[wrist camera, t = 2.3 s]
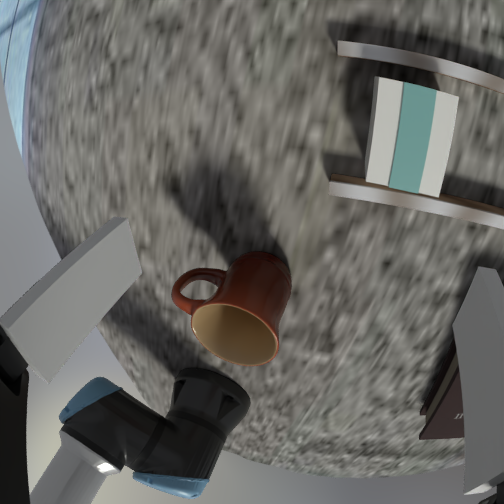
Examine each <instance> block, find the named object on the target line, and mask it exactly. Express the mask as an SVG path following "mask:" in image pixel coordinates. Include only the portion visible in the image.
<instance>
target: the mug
mask: <svg viewBox="0 0 504 504" xmlns="http://www.w3.org/2000/svg"><path fill="white" fill-rule="evenodd" d="M196 280H205V281H209V282H211V283H213V284H215V285H216V286H217V287H218V289H217V290H216V292H215V293H214V294H213V295H212V296H211V297H210V298H209V299H207V300H193V299H189V298H187V297H185V296H183V295H182V294H181V293H180V292H181V291H182V290H183V289H184V288H185V287H186V286H187V285H188V284H189V283H191V282H193V281H196ZM291 282H292V280H291V274H290V272H289V269H288V268H287V266H286V265H285V264H284V263H283V262H282V261H281V260H280V259H279V258H277V257H276V256H274V255H272V254H269V253H266V252H260V251H253V252H248V253H246V254H243V255H241V256H240V257H239V258H237V259H236V260H235V261H234V262H233V263H232V264H231V266H230V267H229V269H228V270H227V271H224V270H220V269H213V268H196V269H193V270H190V271H188V272H186V273H184V274H183V275H182V276H180V277H179V278H178V280H177V281H176V282H175V284H174V286H173V288H172V293H171V296H172V300H173V302H174V303H175V305H176V306H177V307H179V308H180V309H182V310H183V311H185V312H186V313H188V314H189V315H191V316H192V317H191V328H192V330H193V332H194V334H195V336H196V337H197V339H198V340H199V342H200V343H201V344H202V345H203V346H204V347H205V348H206V349H207V350H209V351H210V352H211V353H213V354H214V355H216V356H217V357H219V358H221V359H223V360H225V361H228V362H231V363H234V364H238V365H243V366H258V365H262V364H265V363H268V362H269V361H271V360H272V359H273V358H274V357H275V356H276V354H277V352H278V349H279V323H280V320H281V318H282V315H283V313H284V311H285V308H286V305H287V302H288V300H289V298H290V294H291V288H292V283H291Z"/></svg>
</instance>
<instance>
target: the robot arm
mask: <svg viewBox="0 0 504 504" xmlns="http://www.w3.org/2000/svg"><path fill="white" fill-rule="evenodd" d="M141 274H142V269H141V266H140V262H139V259H138V255H137V252H136V248H135V244H134V241H133V237H132V233H131V229H130V225H129V221H128V218H121V217H113V218H112V219H111V220H109V221H108V222H107V223H106V224H104V225H103V226H102V227H101V228H99V229H98V230H97V231H96V232H94V233H93V234H92V235H91V236H89V237H88V238H87V239H86V240H85V241H83V242H82V243H81V244H80V245H79V246H77V247H76V248H75V249H74V250H73V251H72V252H70V253H69V254H68V255H67V256H66V257H65V258H64V259H62V260H61V261H60V262H59V263H58V264H57V265H56V266H54V267H53V268H52V269H51V270H50V271H49V272H48V273H47V274H46V275H45V276H44V277H42V278H41V280H39V281H38V282H36V283H35V284H34V285H33V286H32V287H31V288H30V290H28V291H27V292H26V293H25V294H24V295H23V296H22V297H21V298H20V299H19V300H18V301H17V302H16V303H15V304H14V305H13V306H12V307H11V308H10V309H9V310H8V311H7V312H6V313H5V314H4V315H3V316H2V317H1V318H0V504H91V502H92V501H93V499H94V497H95V495H96V494H97V492H98V490H99V489H100V487H101V485H102V483H103V482H104V480H105V478H106V477H107V476H108V475H111V474H117V473H120V472H121V470H122V468H123V467H124V465H125V466H127V467H129V468H131V469H132V470H134V471H135V472H133V479H135V480H136V481H138V482H140V483H142V484H145V485H147V486H149V487H152V488H155V489H157V490H160V491H163V492H166V493H169V494H172V495H176V496H179V497H183V498H188V499H195V498H197V497H199V496H200V495H201V493H202V491H203V490H204V488H205V486H206V484H207V482H209V478H210V476H211V474H212V471H213V469H214V467H215V464H216V462H217V460H218V457H219V455H220V453H221V450H222V448H223V445H224V443H225V441H226V438H227V436H228V435H229V434H230V432H231V431H232V430H233V429H234V428H235V427H236V426H237V425H238V424H239V423H240V421H241V420H242V419H243V418H244V417H245V416H246V414H247V412H248V409H249V407H250V399H249V397H248V395H247V394H246V392H245V391H244V390H243V389H242V388H241V387H239V386H238V385H237V384H235V383H234V382H232V381H231V380H229V379H227V378H225V377H223V376H221V375H219V374H216V373H214V372H211V371H207V370H203V369H197V368H188V369H184V370H182V371H181V372H180V373H179V375H178V377H177V378H176V380H175V382H174V387H173V393H172V400H171V406H170V410H169V412H168V414H167V415H166V417H165V418H164V417H163V416H161V415H160V414H158V413H157V412H155V411H153V410H152V409H150V408H149V407H147V406H146V405H144V404H143V403H141V402H140V401H138V400H137V399H135V398H134V397H132V396H131V395H129V394H128V393H127V392H125V391H124V390H123V388H121V387H118V386H117V385H115V384H114V383H112V382H111V381H109V380H108V379H106V378H104V377H97V378H94V379H92V380H91V381H90V382H88V383H87V384H86V385H85V386H84V387H83V388H82V389H81V390H80V391H79V392H78V393H77V394H76V395H75V396H74V397H73V398H72V399H71V400H70V401H69V403H68V404H67V406H66V407H65V408H64V409H63V410H62V412H61V413H60V415H59V419H60V421H61V423H63V424H64V425H63V427H62V428H61V430H60V431H59V433H60V438H61V442H62V446H61V447H60V449H59V450H58V452H57V453H56V455H55V456H54V458H53V459H52V461H51V462H50V464H49V466H48V467H47V469H46V471H45V472H44V474H43V475H42V477H41V478H40V480H39V481H38V483H37V485H36V486H35V488H34V489H33V491H32V492H31V494H30V496H29V486H28V473H27V455H26V453H27V452H26V418H27V396H28V383H29V373H28V371H27V369H26V368H27V367H28V365H29V366H30V367H31V369H32V370H33V371H34V373H35V374H36V375H37V376H38V377H40V378H41V379H43V380H44V381H46V382H47V383H50V382H51V381H52V379H53V378H54V377H55V375H56V374H57V373H58V372H59V370H60V369H61V368H62V367H63V365H64V364H65V363H66V362H67V360H68V359H69V358H70V357H71V355H72V354H73V353H74V352H75V350H76V349H77V348H78V347H79V345H80V344H81V343H82V342H83V341H84V339H85V338H86V337H87V336H88V335H89V333H90V332H91V331H92V330H93V329H94V327H95V326H96V325H97V324H98V323H99V322H100V320H101V319H102V318H103V317H104V316H105V314H106V313H107V312H108V311H109V310H110V309H111V308H112V306H113V305H114V304H115V303H116V302H117V301H118V300H119V298H120V297H121V296H122V295H123V294H124V293H125V292H126V290H127V289H128V288H129V287H130V286H131V285H132V284H133V283H134V281H135V280H136V279H137V278H138V277H139V276H140V275H141ZM452 326H453V332H454V337H455V343H456V349H457V356H458V363H459V371H460V379H461V388H462V399H463V413H464V434H465V472H464V492H463V495H466V494H475V493H483V492H486V491H488V490H490V489H491V488H493V487H495V486H497V493H496V494H494V495H492V496H490V497H488V498H486V499H484V500H482V501H481V502H479V504H504V286H503V284H502V282H501V280H500V277H499V275H498V273H497V271H496V269H491V268H485V267H479V266H478V269H477V271H476V274H475V276H474V279H473V281H472V283H471V286H470V288H469V290H468V293H467V295H466V297H465V299H464V302H463V304H462V306H461V308H460V310H459V312H458V314H457V316H456V319H455V321H454V323H453V325H452Z"/></svg>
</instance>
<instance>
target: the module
mask: <svg viewBox="0 0 504 504" xmlns="http://www.w3.org/2000/svg"><path fill="white" fill-rule="evenodd" d="M458 99H459V97H457V96H454V95H451V94H447V93H444V92H441V91H437V90H434V89H431V88H427V87H423V86H419V85H415V84H411V83H406V82H401V81H396V80H392V79H387V78H382V77H376V76H375V77H374V89H373V99H372V109H371V117H370V126H369V134H368V141H367V148H366V155H365V177H366V182H370V183H376V184H381V185H385V186H388V187H390V188H394V189H399V190H404V191H408V192H412V193H417V194H418V193H422V194H426V195H430V196H434V197H438V198H439V194H440V190H441V186H442V182H443V178H444V174H445V170H446V165H447V161H448V156H449V152H450V147H451V142H452V136H453V131H454V125H455V119H456V113H457V106H458Z"/></svg>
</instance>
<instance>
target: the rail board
mask: <svg viewBox="0 0 504 504" xmlns="http://www.w3.org/2000/svg"><path fill="white" fill-rule="evenodd" d="M338 56H342V57H351V58H359V59H367V60H373V61H380V62H386V63H392V64H397V65H402V66H407V67H412V68H417V69H421V70H426V71H430V72H434V73H438V74H442V75H446V76H449V77H453V78H456V79H460V80H463V81H466V82H470V83H473V84H476V85H479V86H482V87H485V88H488V89H491V90H493V91H496V92H499V93H502V94H504V79H502V78H499V77H497V76H494V75H491V74H489V73H486V72H483V71H480V70H477V69H474V68H471V67H468V66H465V65H461V64H458V63H455V62H451V61H448V60H444V59H440V58H436V57H432V56H428V55H424V54H420V53H415V52H411V51H406V50H401V49H395V48H390V47H384V46H377V45H371V44H364V43H356V42H347V41H338ZM329 195H334V196H340V197H347V198H353V199H359V200H365V201H371V202H377V203H383V204H389V205H394V206H400V207H405V208H410V209H415V210H420V211H425V212H430V213H435V214H440V215H445V216H449V217H454V218H458V219H463V220H467V221H472V222H476V223H480V224H484V225H489V226H493V227H497V228H501V229H504V209H503V208H499V207H496V206H492V205H488V204H484V203H481V202H477V201H473V200H469V199H465V198H460V197H456V196H452V195H447V194H443V193H440V194H439V198H438V197H434V196H430V195H426V194H422V193H418V194H417V193H412V192H408V191H404V190H399V189H394V188H390V187H388V186H385V185H381V184H376V183H370V182H366V179H365V178H359V177H352V176H346V175H339V174H332V175H331V179H330V185H329Z"/></svg>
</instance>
